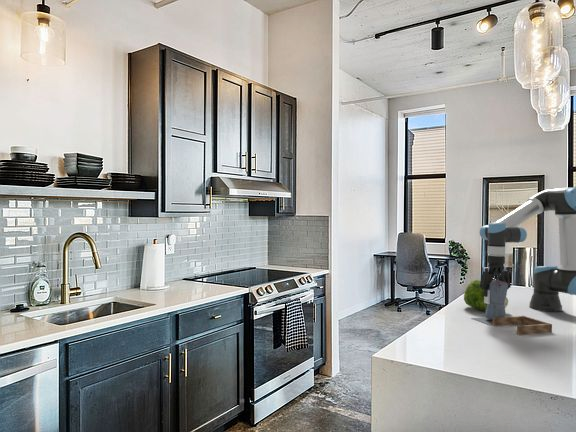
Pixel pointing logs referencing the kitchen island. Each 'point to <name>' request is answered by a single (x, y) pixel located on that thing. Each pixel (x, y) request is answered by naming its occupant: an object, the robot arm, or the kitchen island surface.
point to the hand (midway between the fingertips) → (494, 303)
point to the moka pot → (496, 299)
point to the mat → (484, 320)
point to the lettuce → (476, 296)
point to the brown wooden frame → (529, 328)
